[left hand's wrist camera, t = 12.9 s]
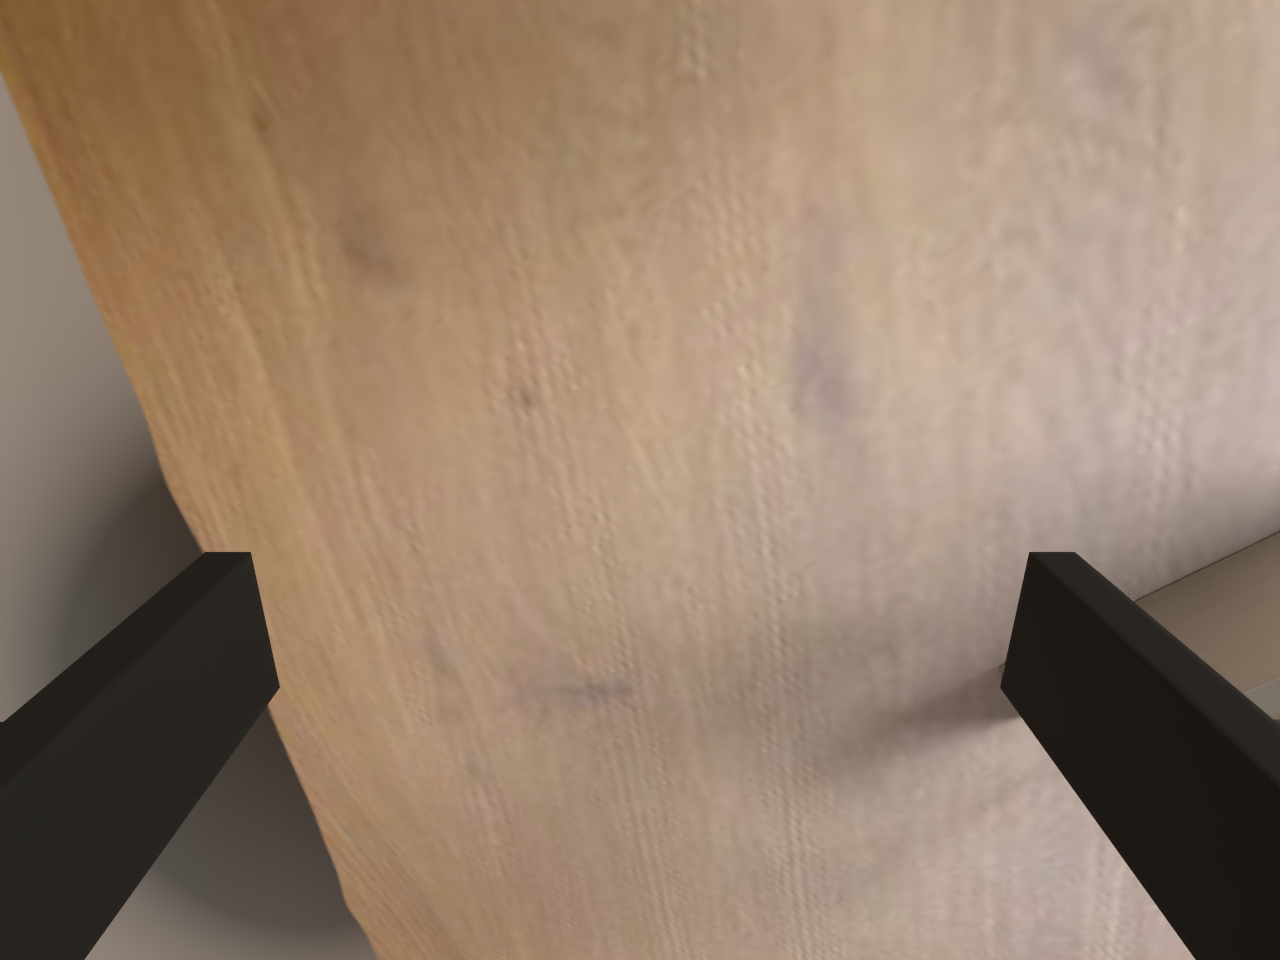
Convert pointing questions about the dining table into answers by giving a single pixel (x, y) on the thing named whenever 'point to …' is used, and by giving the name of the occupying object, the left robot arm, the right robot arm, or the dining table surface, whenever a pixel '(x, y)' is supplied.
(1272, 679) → the bar
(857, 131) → the dining table surface
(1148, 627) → the left robot arm
